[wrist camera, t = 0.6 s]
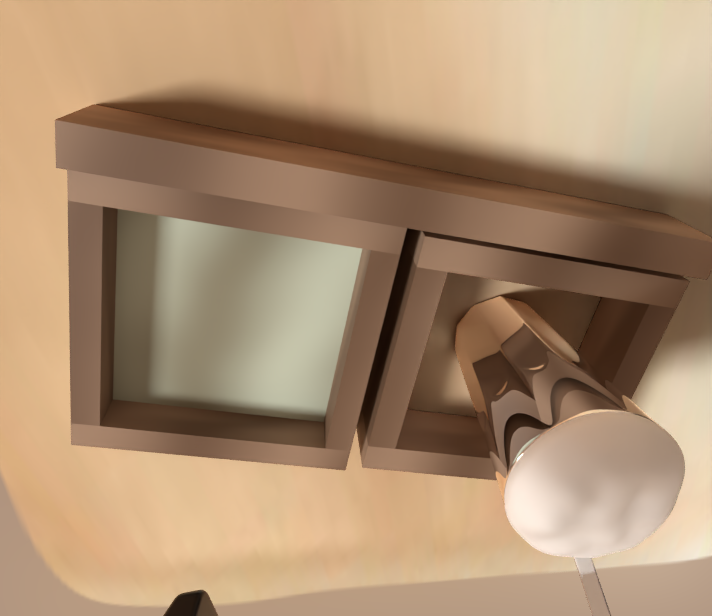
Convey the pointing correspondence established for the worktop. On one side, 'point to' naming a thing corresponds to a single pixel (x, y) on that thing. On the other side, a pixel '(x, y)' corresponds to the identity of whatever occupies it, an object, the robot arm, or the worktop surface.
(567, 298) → the worktop surface
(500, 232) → the divided wooden tray
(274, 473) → the worktop surface
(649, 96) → the worktop surface
